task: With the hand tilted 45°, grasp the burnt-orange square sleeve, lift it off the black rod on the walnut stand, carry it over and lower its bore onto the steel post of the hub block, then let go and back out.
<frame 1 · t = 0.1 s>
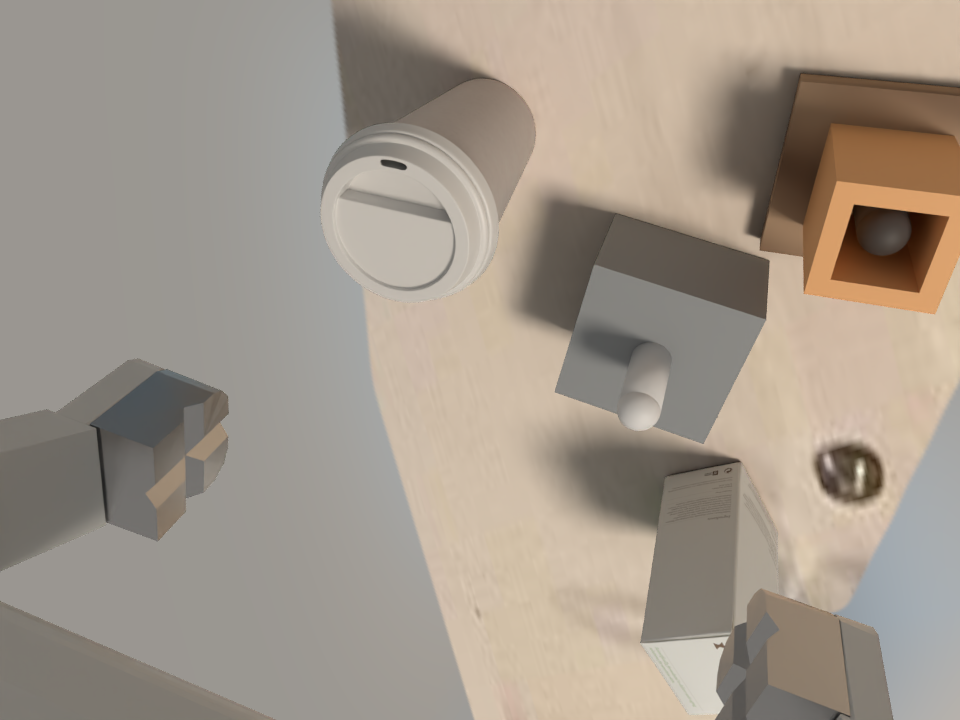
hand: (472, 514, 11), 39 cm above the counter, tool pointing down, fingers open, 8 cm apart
sleeve: (874, 183, 42), point 1 cm above the counter, touching stand
coffee cup: (487, 129, 50), on the counter
hub: (666, 300, 52), on the counter
stand: (872, 172, 44), on the counter
skincare box: (725, 502, 61), on the counter
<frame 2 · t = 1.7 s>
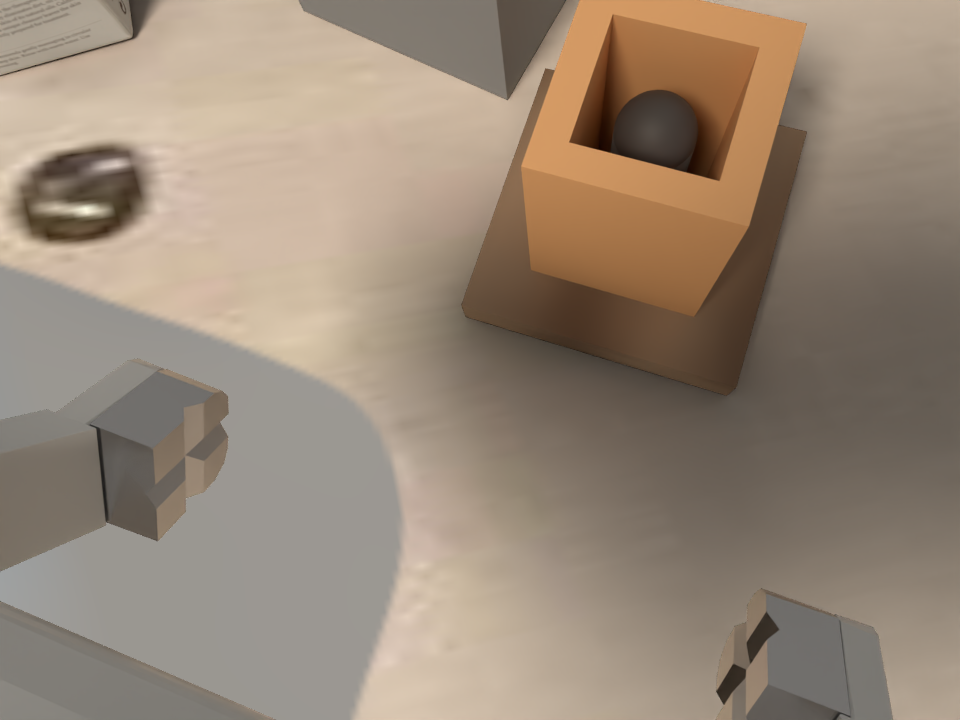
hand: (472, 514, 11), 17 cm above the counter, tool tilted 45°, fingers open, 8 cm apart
sleeve: (634, 218, 28), point 1 cm above the counter, touching stand
stand: (631, 233, 30), on the counter
skincare box: (46, 13, 35), on the counter
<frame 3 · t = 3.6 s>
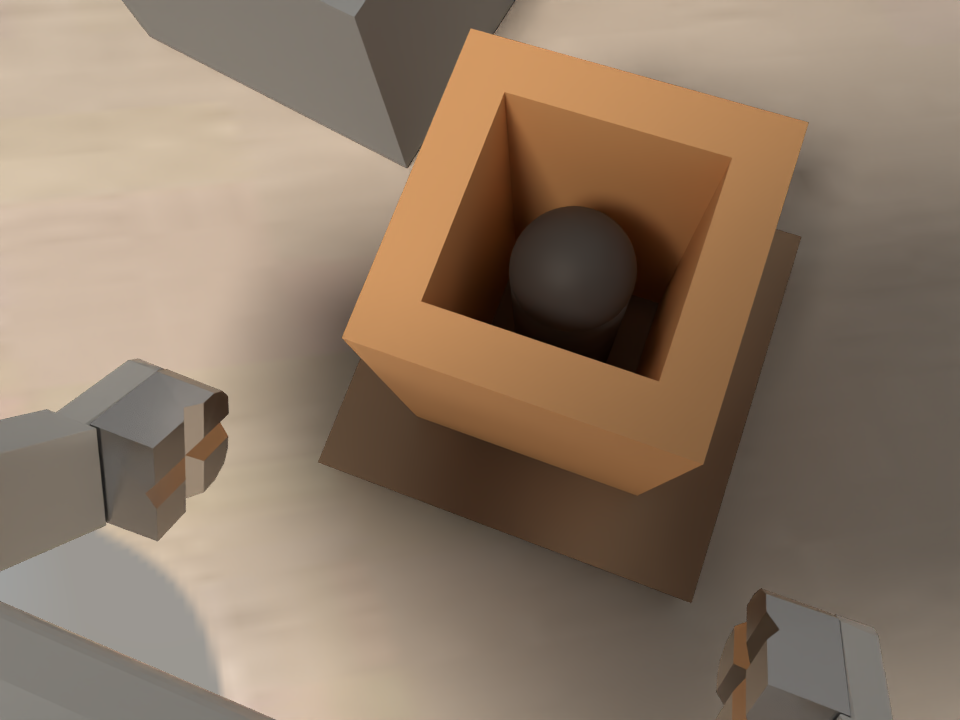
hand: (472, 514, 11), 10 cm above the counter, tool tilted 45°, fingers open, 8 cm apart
sleeve: (562, 348, 20), point 1 cm above the counter, touching stand
stand: (560, 361, 22), on the counter
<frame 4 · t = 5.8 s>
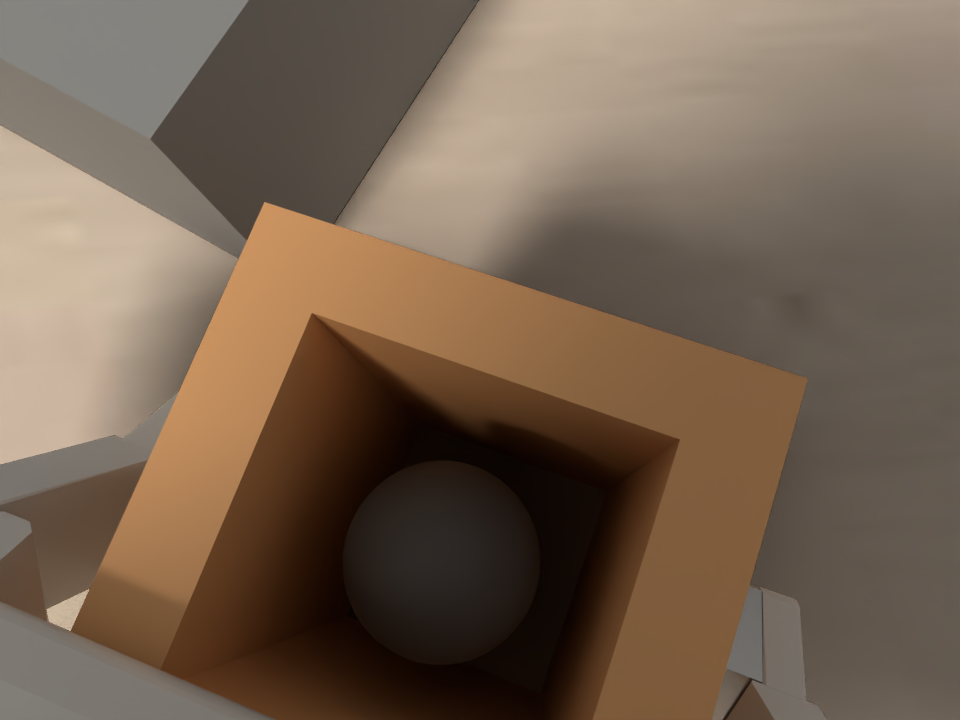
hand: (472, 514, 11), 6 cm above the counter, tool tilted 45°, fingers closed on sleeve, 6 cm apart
sleeve: (477, 553, 15), point 2 cm above the counter, touching gripper, stand
hub: (237, 39, 20), on the counter
stand: (482, 552, 17), on the counter
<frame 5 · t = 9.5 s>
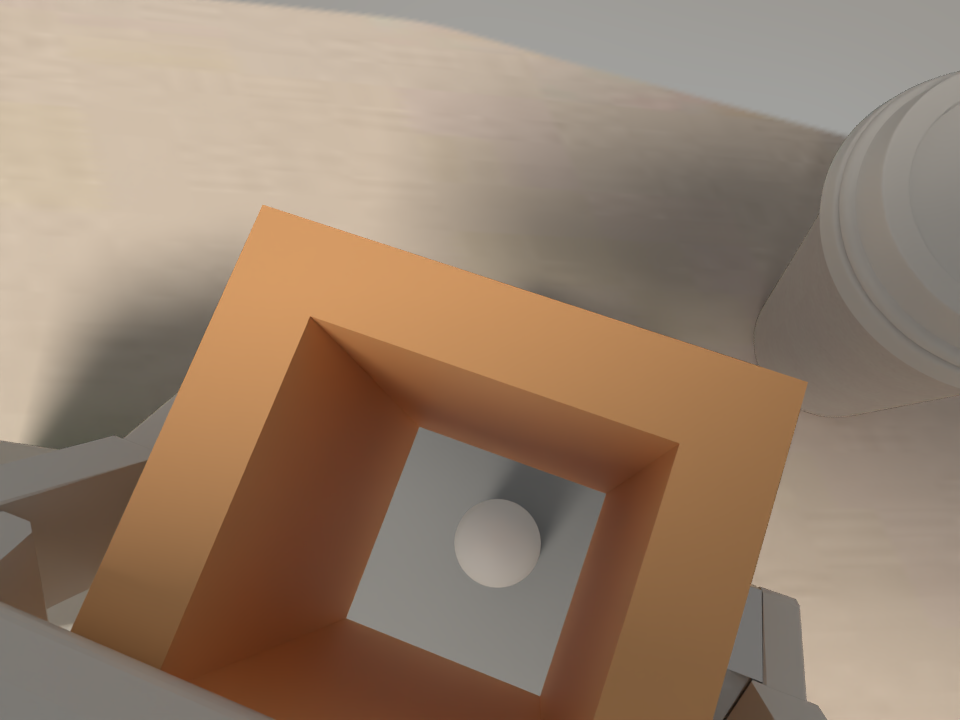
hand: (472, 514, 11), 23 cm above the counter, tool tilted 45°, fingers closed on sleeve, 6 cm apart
sleeve: (477, 555, 15), point 18 cm above the counter, touching gripper
coffee cup: (827, 345, 34), on the counter
hub: (512, 543, 33), on the counter
skincare box: (90, 556, 35), on the counter
when the fingers open (13 cm above the counter, at t = 13.0 s): sleeve drops 1 cm, resting on hub.
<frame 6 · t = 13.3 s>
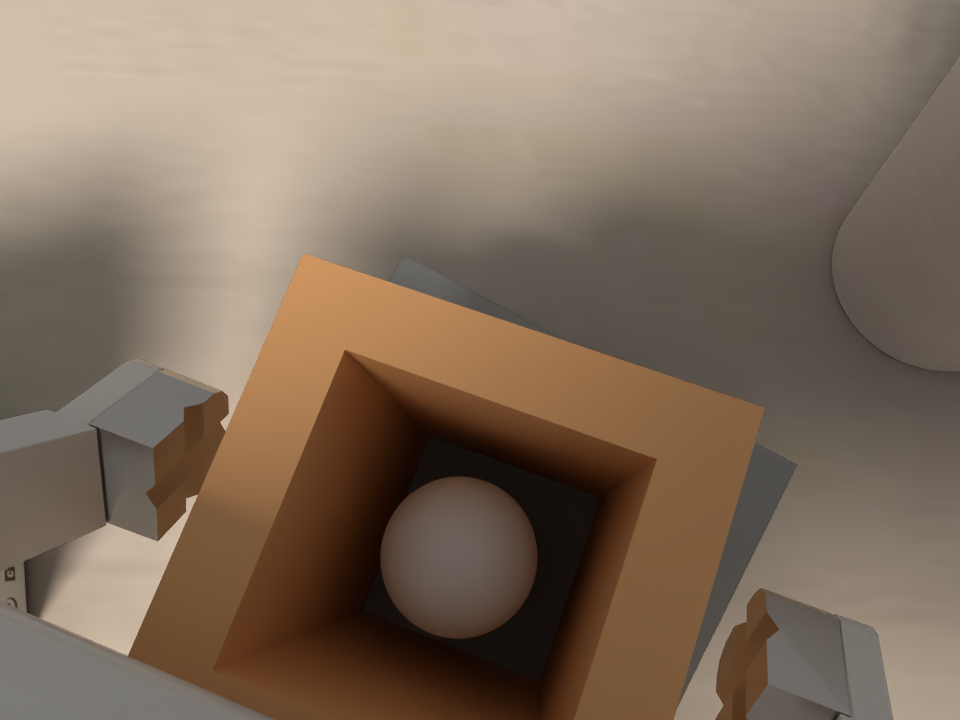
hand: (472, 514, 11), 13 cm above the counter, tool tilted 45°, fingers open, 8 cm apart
sleeve: (482, 553, 17), point 7 cm above the counter, touching hub
coffee cup: (933, 274, 25), on the counter
hub: (496, 549, 24), on the counter
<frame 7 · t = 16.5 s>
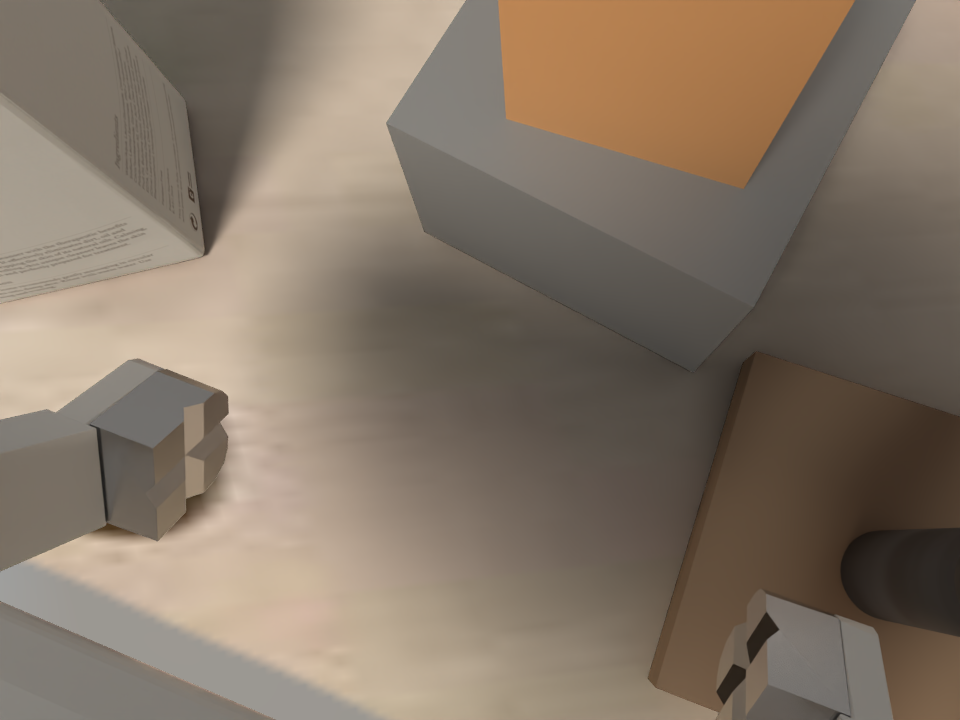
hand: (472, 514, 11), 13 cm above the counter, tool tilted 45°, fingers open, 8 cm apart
sleeve: (659, 49, 19), point 7 cm above the counter, touching hub
hub: (625, 176, 26), on the counter
stand: (863, 572, 23), on the counter
skincare box: (90, 211, 28), on the counter
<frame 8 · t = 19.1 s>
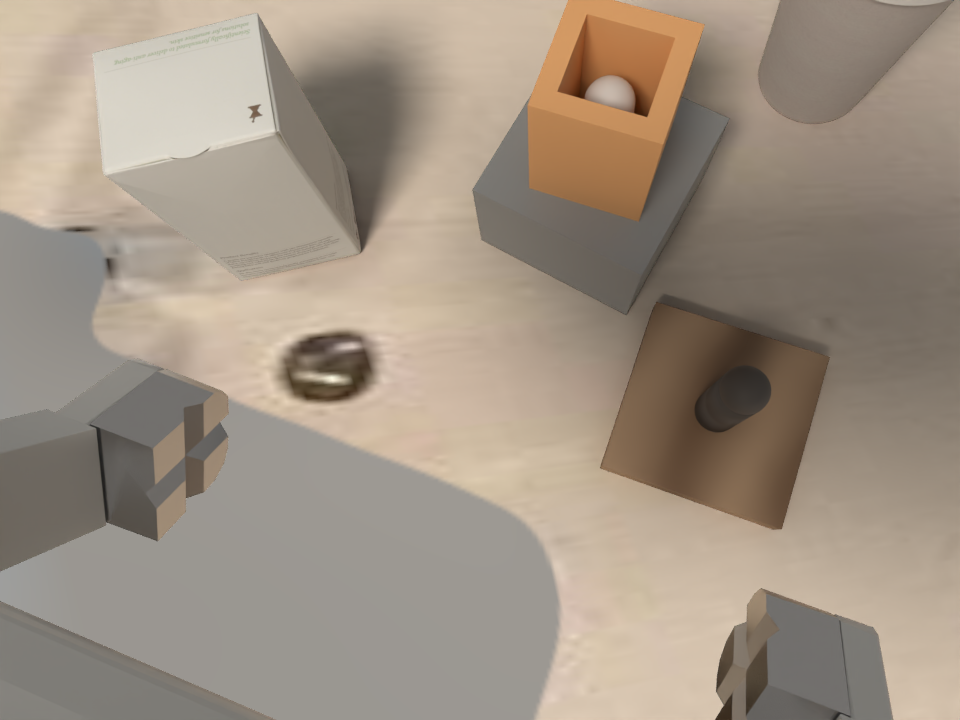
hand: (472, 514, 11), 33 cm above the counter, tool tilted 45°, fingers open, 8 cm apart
sleeve: (601, 155, 41), point 7 cm above the counter, touching hub
coffee cup: (809, 79, 49), on the counter
hub: (591, 209, 48), on the counter
stand: (710, 415, 45), on the counter
skincare box: (293, 228, 49), on the counter
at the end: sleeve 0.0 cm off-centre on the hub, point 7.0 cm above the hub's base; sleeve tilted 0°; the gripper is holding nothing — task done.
